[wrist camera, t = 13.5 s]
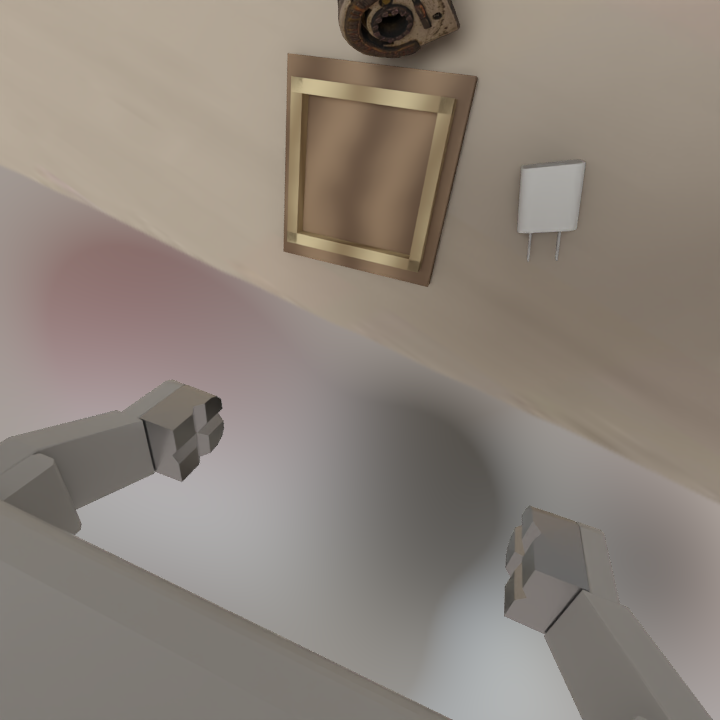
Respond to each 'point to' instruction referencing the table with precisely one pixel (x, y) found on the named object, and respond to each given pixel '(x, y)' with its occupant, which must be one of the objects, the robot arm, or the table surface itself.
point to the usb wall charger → (550, 198)
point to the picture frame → (371, 162)
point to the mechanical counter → (394, 24)
